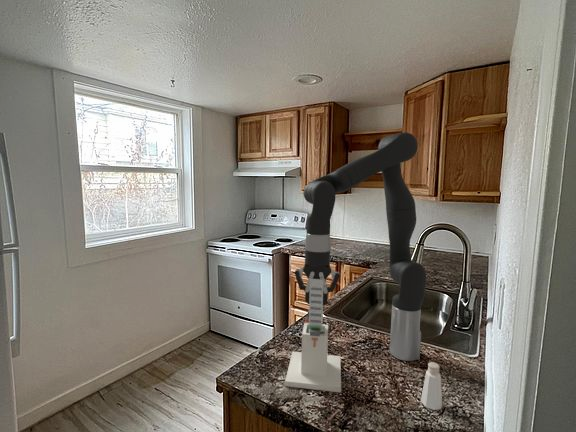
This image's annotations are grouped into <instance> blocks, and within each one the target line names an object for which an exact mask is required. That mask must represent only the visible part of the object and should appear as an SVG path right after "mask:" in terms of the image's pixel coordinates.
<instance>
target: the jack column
mask: <svg viewBox="0 0 576 432" xmlns="http://www.w3.org/2000/svg"><path fill="white" fill-rule="evenodd" d="M308 310H309V333H310V329H311V330H320V334H322V324H324V322H323V317H324V316H323V315H324V305H323V279H320V278H313V279H311V278H310V294H309V304H308Z"/></svg>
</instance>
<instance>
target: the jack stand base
mask: <svg viewBox="0 0 576 432" xmlns="http://www.w3.org/2000/svg"><path fill="white" fill-rule="evenodd" d="M301 333H302V334H301V351H292V352H291V356H290V361H289V365H288V369H287V373H286V377H285V379H284V386H285V387H291V388H298V389H306V390H307V389H308V390H316V391H326V392H334V393H342V376H341V375H342V373H341V371H342V369H341V356H340V355H332V354H328V352H329V351H328V349H329V348H328V347H329V343H328V341H329V324H324V323H323V324H322V334H320V330H311V329H310V333H309V323H305V322H304V324H303V327H302V332H301Z"/></svg>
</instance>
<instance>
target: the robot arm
mask: <svg viewBox="0 0 576 432" xmlns="http://www.w3.org/2000/svg"><path fill="white" fill-rule="evenodd" d="M418 147H419V145H418V140H417V138H416V137H415V135H414V134H412V133H410V132H398V133H395V134H391V135H386V136H384V137H383V138H382V139H380V141H379V143H378V149H377V150H376V151H374V152H372V153H370V154H368V155H365V156H362V157H359V158H358V159H355V160H353V161H351V162H348V163H346V164H345V165H343V166H341V167H339V168H337V169H336V170H334V171H332V172H331V173H328V174H325V175H323V176H320V177H319V178H316V179H314V180H312V181H310V182H308V184H307V185H306V186H305V187H304V190H303V196H304V199H305V201H306V202H307V203H309V204H311V205H312V209H311V213H309V214H308V215H307V217H306V229H305V230H306V231H305V232H306V235H305V242H304V243H305V244H304V266H303V267H302V268H301V269H298V268H297V269H295V271H294V276H295V278H296V282H297V286H298V288H299V290H300V291H304V293H305V295H304V296H305V297H304V301H305V303H306V304H307V305H309V294H310V278H311V279H313V278H320V279H323V306H325V305H326V304H327V303H328V300H329V299H328V295H329V293H334V290H335V289H336V286H337V283H338V281H339V279H340V276H341V275H340V271H338V270H337V271H335V270H333V269H332V267H331V248H332V246H331V219H332V216H333V211H334V208H335V203H336V198H337V197H336V194H338V193H344V192H347V191H349V190H350V189H352V188H354V187H356V186H357V185H360V184H361V183H362V182H364V181H366V180H368V179H369V178H371V177H373V176H375V175H376V174H378V173H380V172H381V176H382V181H383V188H384V189H383V190H384V198H385V212H386V213H385V214H386V221H387V229H388V242H389V274H390V277H391V279H392V280H393V281H394V282H395V283H396V284H398V285H399V291H398V292H399V293H396V294H394V295H393V296H392V299H391V300H392V301H391V317H390V318H391V319H390V320H391V322H390V339H389V354H390V355H392V357H394V358H395V359H398V360H401V361H405V362H412V361H416V360H418V361H420V360H421V358H420V357H421V343H422V331H421V330H420V328H421V326H420V325H421V311H422V304H423V302H424V300H425V296H426V295H425V294H426V287H427V271H426V269H425V267H424V265H422V264H421V263H419V262H416V261H414V260H413V259H412V257H411V247H410V245H411V239H412V236H413V233H414V231H415V228H416V226H417V212H416V210H417V209H416V203H415V198H414V197H413V194H412V192H411V191H410V189H409V188H408V185H407V184H406V182H405V180H404V177H403V174H402V165H401V164H403V163H406V162H408V161H410V160H411V159H413V158H414V156H416V155H417V152H418ZM303 273H304V275H305V276H306V277H307V283H306V284H305V283H304V281H303ZM330 275H331V278H332V280H331V283H330V285H329V286H328V284H327V278H328V277H329V276H330Z"/></svg>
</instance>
